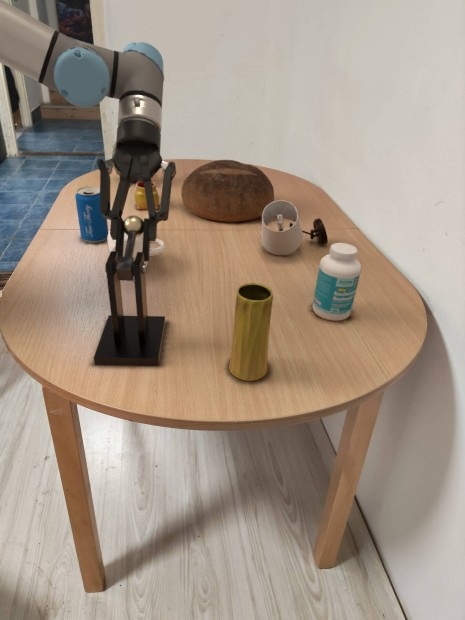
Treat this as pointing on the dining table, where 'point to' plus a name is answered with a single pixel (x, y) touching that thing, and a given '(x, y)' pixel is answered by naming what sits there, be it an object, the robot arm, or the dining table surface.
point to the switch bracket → (129, 322)
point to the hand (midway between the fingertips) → (132, 258)
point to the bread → (227, 191)
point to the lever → (129, 247)
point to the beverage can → (91, 215)
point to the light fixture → (289, 238)
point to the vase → (251, 331)
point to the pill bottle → (337, 282)
